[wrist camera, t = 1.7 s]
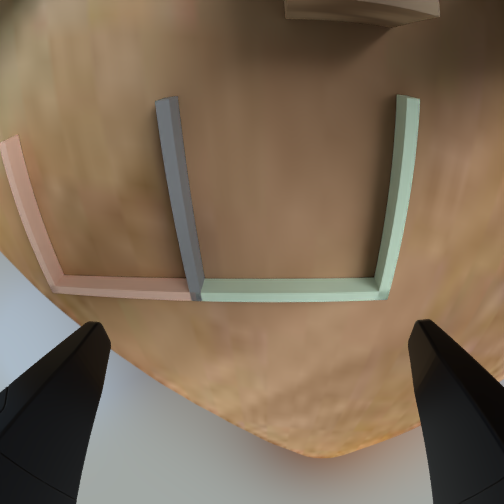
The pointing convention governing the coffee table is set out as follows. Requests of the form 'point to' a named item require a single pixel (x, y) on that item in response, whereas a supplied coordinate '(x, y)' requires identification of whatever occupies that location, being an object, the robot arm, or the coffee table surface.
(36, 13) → the coffee table surface
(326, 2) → the walnut block
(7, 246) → the coffee table surface
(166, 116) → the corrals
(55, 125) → the coffee table surface
